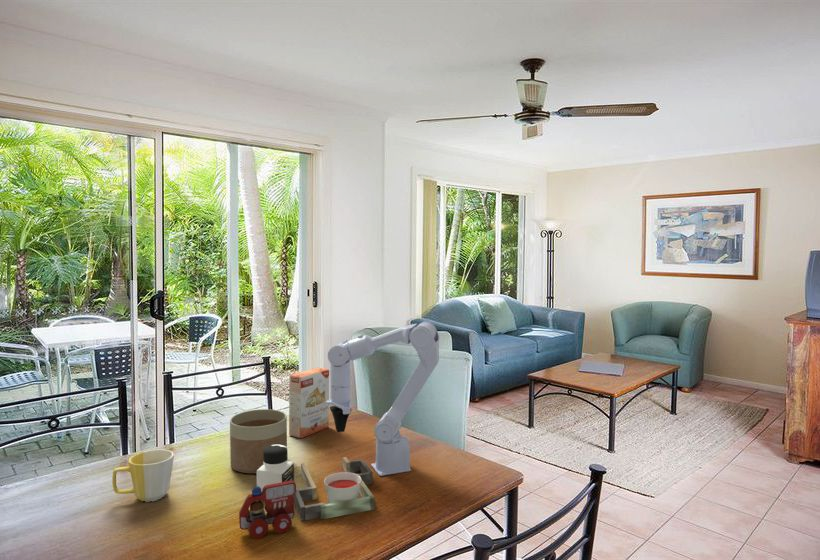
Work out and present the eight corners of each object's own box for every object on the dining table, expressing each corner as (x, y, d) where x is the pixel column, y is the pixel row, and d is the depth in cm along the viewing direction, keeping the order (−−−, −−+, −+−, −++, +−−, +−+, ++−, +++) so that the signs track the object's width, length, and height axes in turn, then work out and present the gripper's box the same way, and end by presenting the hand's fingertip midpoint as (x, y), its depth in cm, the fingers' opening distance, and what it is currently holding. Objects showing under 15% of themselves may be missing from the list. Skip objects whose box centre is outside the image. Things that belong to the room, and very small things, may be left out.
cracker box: (301, 439, 172) (301, 377, 171) (288, 435, 176) (287, 374, 174) (330, 427, 184) (330, 368, 183) (317, 424, 187) (317, 366, 186)
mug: (178, 485, 139) (177, 447, 138) (170, 504, 129) (169, 462, 128) (121, 491, 135) (120, 451, 135) (108, 510, 126) (107, 468, 125)
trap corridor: (359, 465, 153) (359, 455, 153) (389, 506, 129) (389, 494, 129) (284, 476, 145) (284, 466, 144) (301, 523, 121) (301, 510, 120)
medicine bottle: (282, 500, 131) (282, 453, 131) (256, 497, 133) (255, 451, 132) (294, 487, 138) (294, 443, 138) (269, 484, 140) (269, 440, 139)
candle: (362, 512, 126) (362, 487, 125) (324, 515, 124) (324, 489, 124) (359, 495, 135) (359, 471, 134) (324, 497, 133) (324, 473, 133)
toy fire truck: (238, 526, 119) (237, 482, 118) (293, 516, 124) (292, 473, 123) (240, 542, 113) (240, 495, 112) (298, 531, 117) (298, 486, 117)
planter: (266, 479, 143) (266, 429, 142) (218, 470, 148) (217, 423, 147) (297, 457, 158) (296, 412, 157) (252, 450, 163) (252, 406, 162)
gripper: (321, 380, 157) (321, 424, 158) (332, 393, 143) (332, 441, 144) (344, 378, 159) (344, 422, 160) (357, 390, 146) (357, 438, 147)
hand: (340, 431), depth 153 cm, fingers closed
